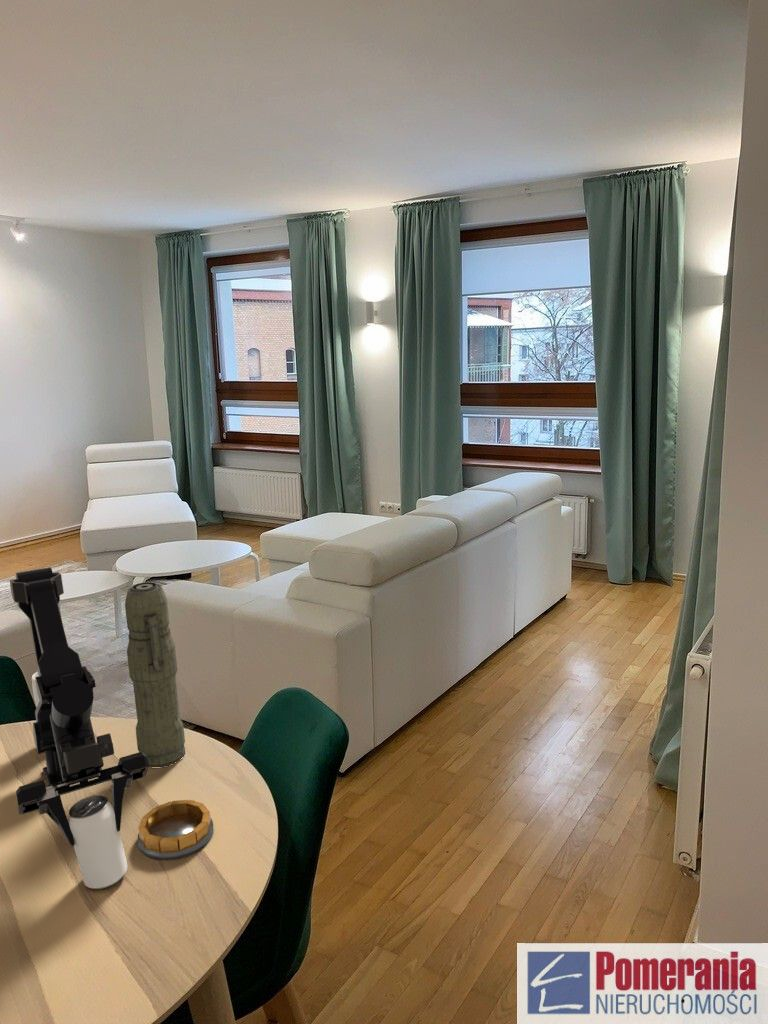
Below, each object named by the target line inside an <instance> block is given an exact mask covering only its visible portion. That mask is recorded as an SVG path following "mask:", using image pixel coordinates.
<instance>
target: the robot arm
mask: <svg viewBox="0 0 768 1024" xmlns="http://www.w3.org/2000/svg"><path fill="white" fill-rule="evenodd" d="M62 577H63V576H62V574H61V572H59V571H54V572H53V569H52V567H51V566H49V567H43V568H37V569H30V570H25V571H20V572H15V578H13V579H10V580H9V587H10V593H11V598H12V600H13V602H14V603H16V605H17V607H18V608H19V609H20V610H21V611H22V613H23V614H24V615H25V616H26V617H27V618H28V620H29V626H30V633H31V634H30V635H31V639H32V645H33V651H34V658H35V664H36V669H37V672H38V677H35V681H36V687H37V693H38V697H39V700H40V701H39V703H38V706H37V707H36V708H35V710H34V714H35V715H34V716H35V720H36V721H35V722H32V733H33V740H34V745H35V749H36V752H37V754H38V755H40V754H42V753H44V756H45V764H46V766H44V767H43V768H42V772H43V774H44V776H45V778H46V780H47V781H48V783H49V785H46V782H45V779H42V780H41V779H40V780H38V781H33V782H31V783H28V784H24V785H21V786H18V788H17V789H16V791H15V795H16V796H15V798H16V804H17V811H18V815H25V814H29V813H32V812H35V811H38V813H39V815H45V814H47V815H48V817H49V818H50V819H51V820H52V821H53V822H54V823H55V824H56V825H57V827H58V829H59V831H60V832H61V834H63V836H64V838H65V840H66V841H67V843H68V844H69V846H70V848H74V840H73V835H72V832H71V829H70V826H69V823H68V821H69V819H68V817H67V815H66V811H65V809H64V805H63V802H62V797H61V796H63V795H67V794H70V793H73V792H76V791H80V790H84V789H86V788H90V787H94V786H96V785H99V784H104V783H106V782H109V781H110V782H111V783H112V784H111V788H110V794H111V802H112V804H111V805H112V807H113V809H114V813H115V820H116V826H117V832H121V828H122V827H121V824H122V813H123V812H122V811H123V802H124V801H123V800H124V795H125V791H126V789H129V788H131V786H132V783H133V782H134V781H137V780H141V779H143V778H146V777H147V775H148V772H149V769H150V768H149V763H148V759H147V756H146V754H144V753H143V752H139V751H138V752H135V753H132V754H129V755H125V756H121V757H119V759H118V763H117V765H114V766H110V767H107V768H103V767H104V765H105V764H104V759H103V758H107V757H110V756H114V755H115V749H114V743H113V739H112V736H111V735H112V734H111V733H105V734H101V735H98V736H95V733H94V730H93V729H94V728H93V725H92V720H91V719H92V718H91V716H92V711H93V703H94V688H96V686H97V685H96V680H95V678H94V676H93V675H92V672H91V671H89V670H88V669H87V667H86V665H82V662H81V659H80V655H79V653H78V652H77V651H75V650H74V649H73V648H71V647H70V646H69V643H68V639H67V636H66V631H65V627H64V623H63V619H62V616H61V612H60V607H59V604H60V600H61V597H60V596H62V595H63V594H65V593H64V592H65V590H64V585H63V580H62V579H63V578H62Z"/></svg>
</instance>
